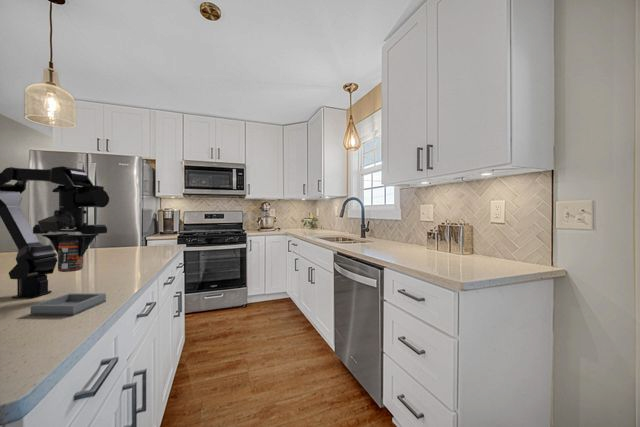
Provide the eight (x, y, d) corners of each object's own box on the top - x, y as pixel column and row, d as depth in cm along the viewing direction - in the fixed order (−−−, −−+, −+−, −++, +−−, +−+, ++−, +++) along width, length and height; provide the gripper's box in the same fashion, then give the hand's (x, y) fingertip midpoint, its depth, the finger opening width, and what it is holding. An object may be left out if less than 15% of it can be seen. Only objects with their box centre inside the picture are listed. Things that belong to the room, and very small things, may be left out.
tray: (30, 315, 70) (30, 305, 70) (69, 301, 81) (69, 293, 81) (73, 315, 71) (73, 306, 71) (105, 301, 82) (105, 293, 82)
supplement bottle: (67, 273, 82) (68, 236, 82) (52, 272, 83) (52, 235, 83) (88, 269, 88) (88, 234, 88) (73, 268, 89) (73, 233, 89)
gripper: (12, 206, 77) (12, 260, 77) (78, 207, 78) (78, 261, 78) (50, 207, 89) (50, 254, 89) (108, 207, 89) (108, 255, 89)
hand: (70, 256), depth 86 cm, fingers closed on supplement bottle, 6 cm apart
